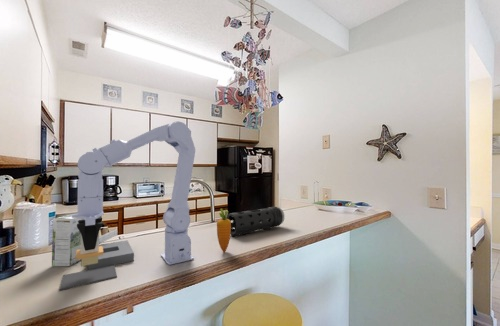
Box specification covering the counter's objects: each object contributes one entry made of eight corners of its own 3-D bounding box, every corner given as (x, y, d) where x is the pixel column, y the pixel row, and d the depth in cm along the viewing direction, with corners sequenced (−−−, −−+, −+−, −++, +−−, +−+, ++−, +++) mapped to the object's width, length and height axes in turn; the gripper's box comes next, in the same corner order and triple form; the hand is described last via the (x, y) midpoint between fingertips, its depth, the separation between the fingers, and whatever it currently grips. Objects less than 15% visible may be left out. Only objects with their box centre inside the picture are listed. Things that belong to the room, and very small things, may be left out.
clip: (118, 236, 91) (118, 229, 91) (92, 250, 76) (93, 241, 76) (113, 237, 91) (113, 229, 91) (87, 250, 76) (87, 241, 76)
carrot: (232, 253, 79) (232, 209, 80) (218, 255, 78) (217, 210, 78) (229, 249, 84) (229, 207, 84) (215, 250, 83) (215, 208, 83)
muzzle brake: (225, 234, 103) (225, 211, 103) (272, 225, 120) (272, 205, 120) (236, 239, 95) (236, 214, 96) (285, 229, 112) (285, 207, 112)
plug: (103, 263, 62) (103, 232, 62) (75, 268, 59) (75, 235, 59) (102, 256, 67) (102, 227, 67) (76, 261, 64) (76, 230, 64)
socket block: (133, 260, 74) (133, 252, 74) (87, 270, 67) (87, 261, 67) (127, 246, 87) (127, 240, 87) (88, 253, 80) (88, 246, 80)
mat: (116, 277, 63) (116, 275, 63) (59, 290, 56) (59, 289, 56) (114, 265, 70) (114, 264, 70) (63, 276, 63) (63, 275, 63)
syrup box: (66, 259, 76) (67, 214, 76) (84, 259, 76) (84, 214, 76) (51, 266, 70) (51, 218, 70) (70, 266, 70) (70, 218, 70)
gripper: (73, 195, 67) (73, 242, 67) (70, 201, 55) (69, 258, 55) (102, 193, 71) (102, 238, 71) (105, 198, 59) (104, 252, 59)
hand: (90, 247), depth 63 cm, fingers closed on plug, 4 cm apart
